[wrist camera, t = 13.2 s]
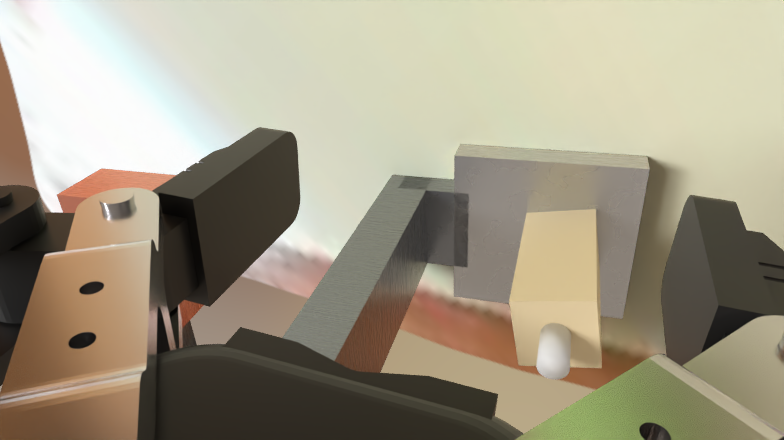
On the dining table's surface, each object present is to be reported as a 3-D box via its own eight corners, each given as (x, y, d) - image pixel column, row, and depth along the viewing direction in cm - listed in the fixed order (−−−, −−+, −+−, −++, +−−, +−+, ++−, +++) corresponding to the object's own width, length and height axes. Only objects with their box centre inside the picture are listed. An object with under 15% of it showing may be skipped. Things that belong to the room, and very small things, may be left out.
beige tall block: (595, 208, 38) (597, 332, 28) (599, 266, 40) (602, 402, 30) (526, 212, 40) (503, 331, 29) (533, 268, 41) (513, 397, 31)
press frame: (647, 156, 37) (837, 1117, 8) (621, 301, 43) (682, 1181, 14) (384, 139, 42) (-79, 716, 13) (391, 272, 48) (79, 884, 19)
